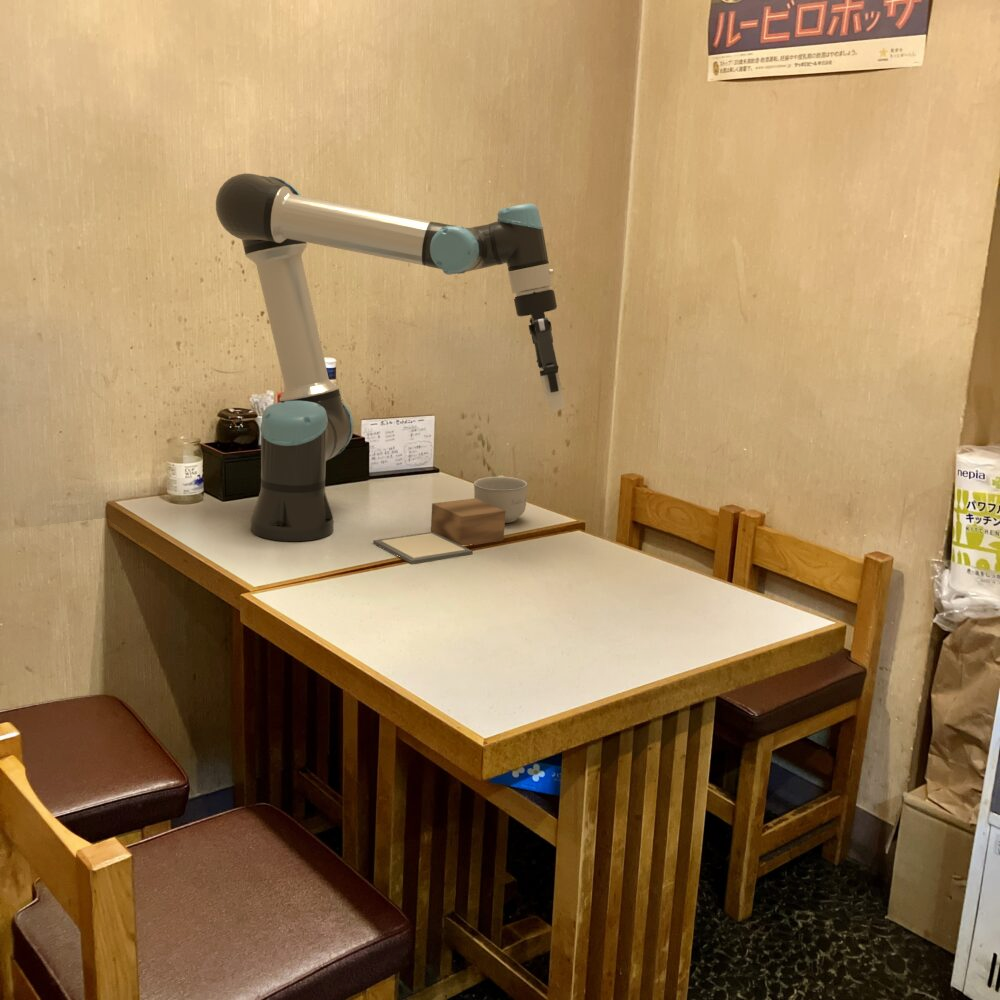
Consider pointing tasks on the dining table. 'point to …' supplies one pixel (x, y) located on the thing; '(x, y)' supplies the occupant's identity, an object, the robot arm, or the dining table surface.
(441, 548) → the mat
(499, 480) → the teacup
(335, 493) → the dining table surface
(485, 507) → the brown wooden block
